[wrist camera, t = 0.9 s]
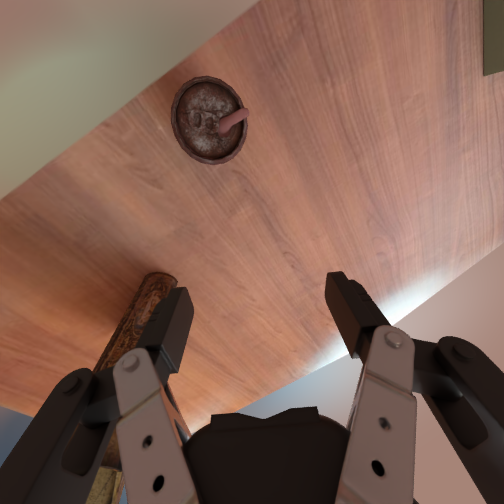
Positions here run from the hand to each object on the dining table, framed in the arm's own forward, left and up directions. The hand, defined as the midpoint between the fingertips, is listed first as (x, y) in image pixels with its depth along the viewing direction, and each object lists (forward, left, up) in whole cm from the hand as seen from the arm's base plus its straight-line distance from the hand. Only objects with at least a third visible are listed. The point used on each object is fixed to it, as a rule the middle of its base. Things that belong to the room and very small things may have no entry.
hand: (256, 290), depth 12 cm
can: (-9, +3, -24) cm, 25 cm away
